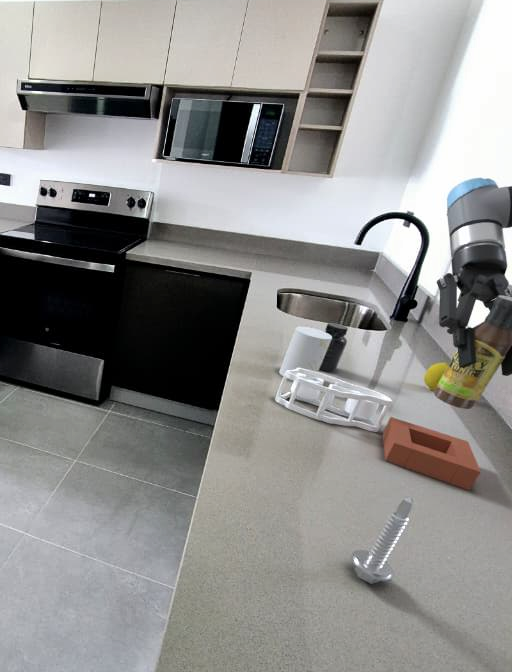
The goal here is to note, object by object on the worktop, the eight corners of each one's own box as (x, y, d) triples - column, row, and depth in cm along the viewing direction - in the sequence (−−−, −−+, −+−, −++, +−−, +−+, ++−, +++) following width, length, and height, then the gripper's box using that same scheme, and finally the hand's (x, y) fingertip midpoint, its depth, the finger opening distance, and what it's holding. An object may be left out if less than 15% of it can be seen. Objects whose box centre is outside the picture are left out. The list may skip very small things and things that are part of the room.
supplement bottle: (313, 359, 140) (329, 319, 135) (338, 369, 136) (356, 328, 131) (303, 364, 136) (320, 323, 131) (330, 374, 132) (348, 332, 127)
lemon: (419, 389, 130) (433, 361, 127) (418, 383, 135) (432, 356, 131) (444, 397, 128) (460, 369, 124) (443, 390, 132) (457, 363, 129)
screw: (377, 566, 67) (394, 595, 63) (339, 558, 68) (354, 586, 63) (421, 489, 62) (443, 514, 57) (380, 480, 62) (399, 505, 58)
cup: (308, 386, 122) (327, 341, 117) (275, 374, 126) (291, 329, 121) (317, 378, 127) (335, 335, 123) (285, 366, 132) (301, 324, 127)
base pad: (457, 458, 99) (467, 441, 97) (469, 490, 88) (481, 472, 86) (382, 433, 104) (390, 416, 102) (385, 460, 94) (394, 442, 92)
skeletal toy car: (379, 423, 108) (394, 393, 105) (375, 441, 100) (390, 410, 97) (283, 388, 119) (294, 360, 116) (272, 403, 110) (283, 373, 107)
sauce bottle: (424, 394, 93) (478, 291, 85) (446, 393, 95) (501, 292, 87) (459, 412, 88) (521, 303, 79) (482, 410, 90) (544, 304, 81)
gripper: (515, 274, 95) (530, 387, 87) (409, 257, 97) (414, 365, 89) (552, 251, 88) (573, 372, 80) (437, 233, 90) (445, 349, 82)
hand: (489, 368), depth 85 cm, fingers closed on sauce bottle, 6 cm apart
